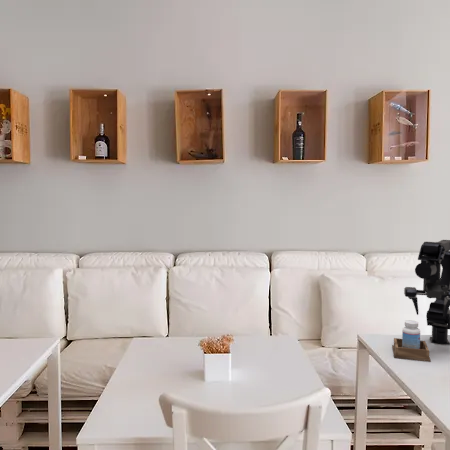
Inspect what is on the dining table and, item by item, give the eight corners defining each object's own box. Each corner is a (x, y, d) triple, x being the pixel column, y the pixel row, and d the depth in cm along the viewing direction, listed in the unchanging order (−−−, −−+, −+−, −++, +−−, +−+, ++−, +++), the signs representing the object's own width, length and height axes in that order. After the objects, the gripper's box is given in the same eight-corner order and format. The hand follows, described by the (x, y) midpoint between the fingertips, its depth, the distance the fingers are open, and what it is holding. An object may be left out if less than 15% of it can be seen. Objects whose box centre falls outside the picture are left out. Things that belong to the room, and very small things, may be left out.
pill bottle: (422, 354, 158) (423, 324, 158) (405, 354, 159) (406, 324, 158) (415, 349, 165) (416, 319, 164) (399, 349, 165) (400, 319, 164)
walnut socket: (392, 347, 169) (392, 337, 169) (426, 350, 165) (426, 340, 165) (394, 358, 158) (394, 347, 157) (430, 361, 154) (430, 351, 154)
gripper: (407, 277, 160) (406, 319, 161) (464, 280, 154) (462, 323, 155) (404, 272, 171) (403, 311, 172) (457, 275, 165) (456, 315, 166)
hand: (430, 315), depth 166 cm, fingers open, 9 cm apart
